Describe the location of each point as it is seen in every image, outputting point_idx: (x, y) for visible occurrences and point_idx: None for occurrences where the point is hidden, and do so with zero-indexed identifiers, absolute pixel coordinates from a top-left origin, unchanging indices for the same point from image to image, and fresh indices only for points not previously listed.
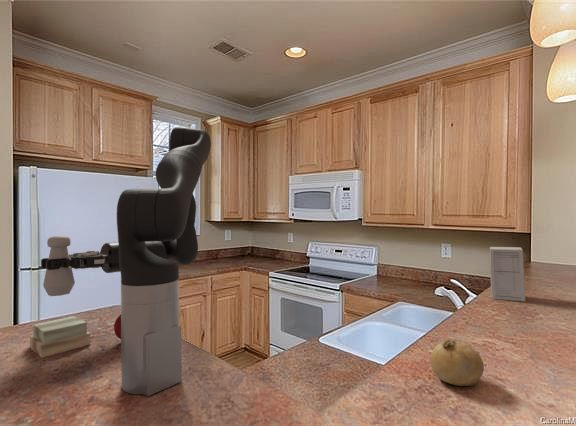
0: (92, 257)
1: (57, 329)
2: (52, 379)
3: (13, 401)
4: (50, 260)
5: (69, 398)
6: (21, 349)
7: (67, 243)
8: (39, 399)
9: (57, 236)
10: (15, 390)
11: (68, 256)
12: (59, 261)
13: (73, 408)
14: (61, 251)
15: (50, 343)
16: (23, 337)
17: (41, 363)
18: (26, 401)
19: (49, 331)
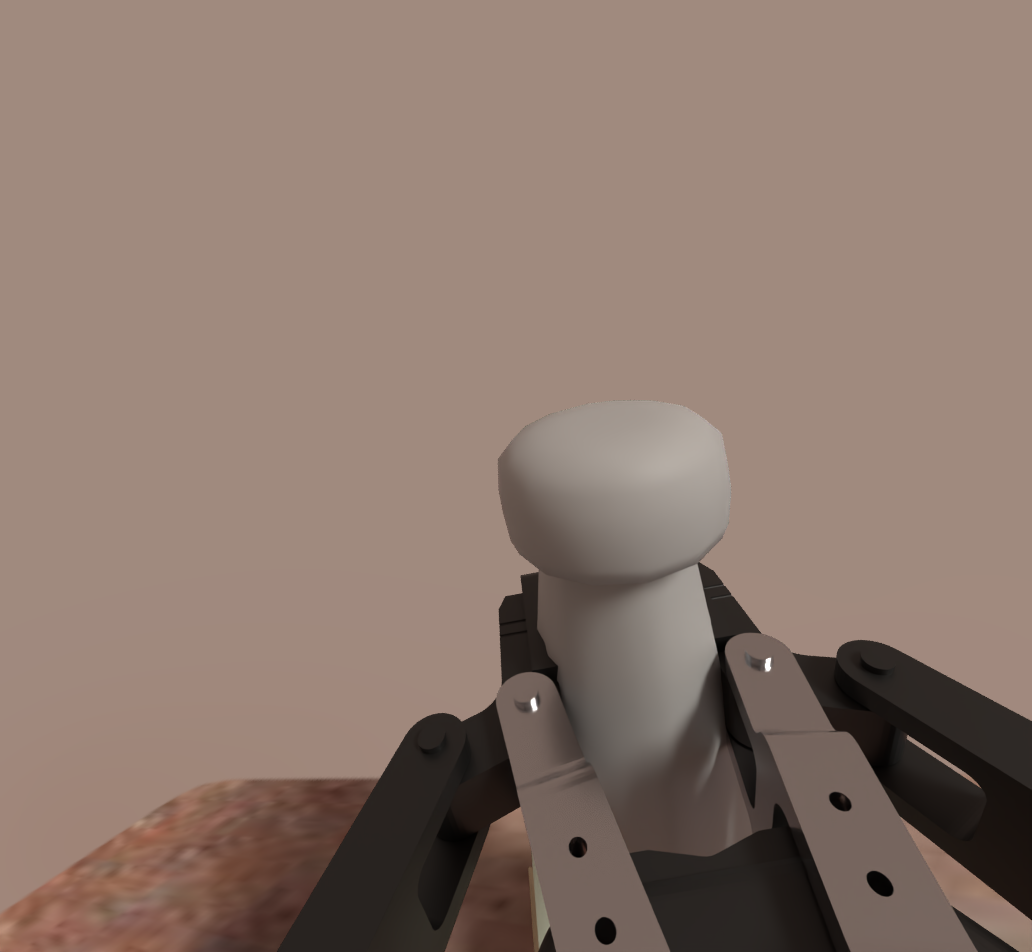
0: (284, 947)
1: (537, 917)
2: (288, 903)
3: (268, 795)
4: (522, 588)
5: (109, 927)
6: None
7: (526, 544)
8: (205, 850)
9: (562, 417)
10: (326, 801)
11: (596, 679)
12: (501, 641)
13: (51, 925)
14: (542, 582)
15: (532, 908)
16: (934, 850)
17: (472, 888)
18: (233, 821)
19: (534, 874)
